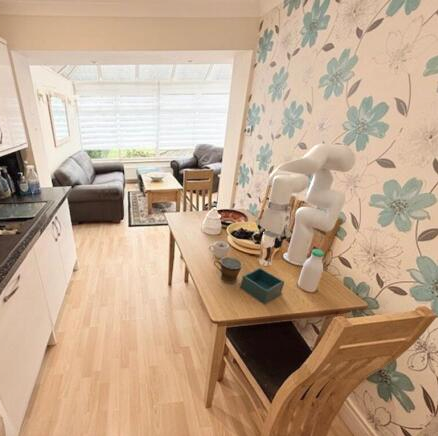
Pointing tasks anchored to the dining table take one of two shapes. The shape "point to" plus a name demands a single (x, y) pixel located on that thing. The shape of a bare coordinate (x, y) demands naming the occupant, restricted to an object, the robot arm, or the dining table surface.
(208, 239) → the dining table surface
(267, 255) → the beer glass
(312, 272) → the milk bottle
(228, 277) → the ceramic cup
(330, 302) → the dining table surface
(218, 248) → the cup
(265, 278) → the tub
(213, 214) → the honey pot
